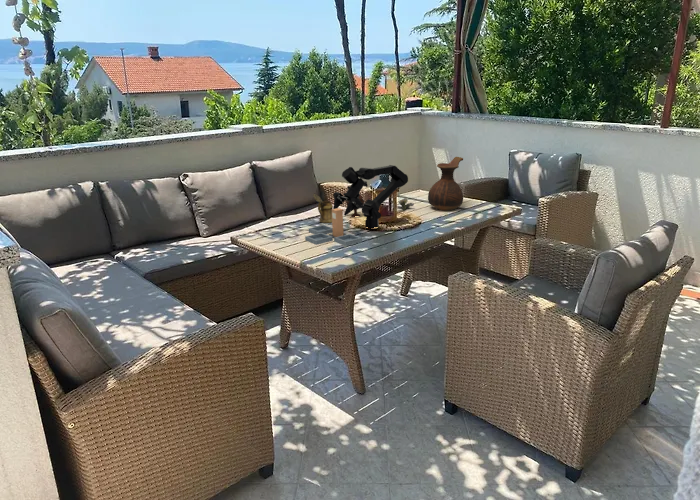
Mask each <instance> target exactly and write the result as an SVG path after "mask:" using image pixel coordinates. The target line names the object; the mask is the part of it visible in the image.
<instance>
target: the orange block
mask: <svg viewBox="0 0 700 500" xmlns="http://www.w3.org/2000/svg"><path fill="white" fill-rule="evenodd" d="M343 212H344V211H343V208H339V207H338V208H336V209H332V223H331V224H332V225H331V226H332V227H331V228H333V233H332V234H333V236H335V237H339V236H343V235H344V234H345V233H344V213H343Z"/></svg>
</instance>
